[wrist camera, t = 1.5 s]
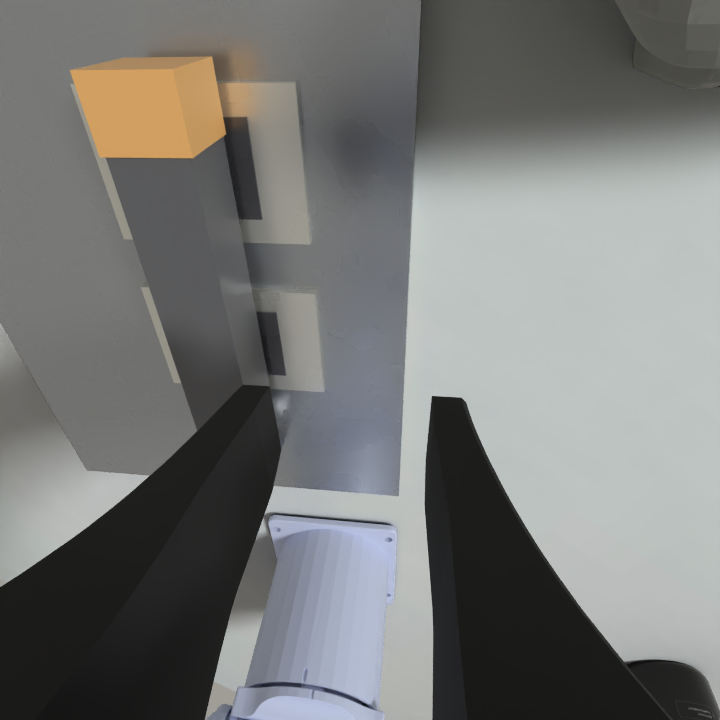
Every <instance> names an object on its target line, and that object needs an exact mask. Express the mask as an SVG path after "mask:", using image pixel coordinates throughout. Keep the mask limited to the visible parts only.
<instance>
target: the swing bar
mask: <svg viewBox="0 0 720 720" xmlns="http://www.w3.org/2000/svg"><path fill="white" fill-rule="evenodd" d="M70 72H71V75H72V78H73V81H74V84H75V87H76V90H77V93H78V96H79V99H80V102H81V104H82V107H83V110H84V113H85V116H86V119H87V122H88V125H89V128H90V131H91V134H92V137H93V140H94V142H95V145H96V148H97V151H98V154H99V157H106V160H107V163H108V166H109V169H110V172H111V175H112V178H113V181H114V184H115V187H116V190H117V193H118V196H119V199H120V202H121V205H122V208H123V211H124V214H125V217H126V220H127V223H128V226H129V229H130V232H131V235H132V238H133V241H134V244H135V247H136V250H137V253H138V256H139V259H140V262H141V265H142V268H143V271H144V274H145V277H146V280H147V283H148V286H149V289H150V292H151V295H152V298H153V301H154V304H155V307H156V310H157V312H158V315H159V318H160V321H161V324H162V327H163V330H164V333H165V336H166V339H167V342H168V345H169V348H170V351H171V354H172V357H173V360H174V363H175V366H176V369H177V372H178V375H179V378H180V381H181V384H182V387H183V390H184V393H185V396H186V399H187V402H188V405H189V408H190V411H191V414H192V417H193V420H194V423H195V426H196V429H197V431H198V430H199V429H200V428H201V427H202V426H203V425H204V424H205V423H206V422H207V421H208V419H209V418H210V417H211V416H212V415H213V414H214V413H215V412H216V411H217V410H218V409H219V408H220V407H221V406H222V405H223V404H224V403H225V402H226V401H227V400H228V399H229V398H230V397H231V396H232V395H233V394H234V393H235V392H236V391H237V390H238V389H239V388H240V387H241V386H242V385H258V386H269V380H268V375H267V370H266V364H265V359H264V353H263V348H262V343H261V337H260V332H259V326H258V321H257V315H256V310H255V305H254V299H253V294H252V288H251V283H250V278H249V272H248V267H247V261H246V256H245V251H244V245H243V240H242V234H241V229H240V224H239V218H238V213H237V207H236V202H235V197H234V191H233V186H232V180H231V175H230V169H229V164H228V159H227V153H226V148H225V142H224V137H223V136H224V135H226V131H225V125H224V120H223V114H222V109H221V103H220V98H219V92H218V87H217V81H216V75H215V70H214V64H213V59H212V56H207V57H132V58H120V59H116V60H112V61H107V62H103V63H99V64H94V65H90V66H86V67H82V68H77V69H73V70H70Z"/></svg>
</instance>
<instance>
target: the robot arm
mask: <svg viewBox="0 0 720 720" xmlns="http://www.w3.org/2000/svg"><path fill="white" fill-rule="evenodd" d="M280 454H281V444H280V439H279V433H278V428H277V422H276V417H275V412H274V406H273V401H272V395H271V390H270V386H258V385H242V386H241V387H240V388H239V389H238V390H237V391H236V392H235V393H234V394H233V395H232V396H231V397H230V398H229V399H228V400H227V401H226V402H225V403H224V404H223V405H222V406H221V407H220V408H219V409H218V410H217V411H216V412H215V413H214V414H213V415H212V416H211V417H210V418H209V419H208V421H207V422H206V423H205V424H204V425H203V426H202V427H201V428H200V429H199V430H198V431H197V432H196V433H195V434H194V435H193V436H192V437H191V438H190V439H188V440H187V441H186V442H185V443H184V444H183V445H182V446H181V447H180V448H179V449H178V450H177V451H176V452H175V453H174V454H173V455H172V456H171V457H170V458H169V459H168V460H167V461H166V462H165V463H163V464H162V465H161V466H160V467H159V468H158V469H157V470H156V471H155V472H153V473H152V474H151V475H150V476H149V477H148V478H147V479H146V480H145V481H143V482H142V483H141V484H140V485H139V486H138V487H137V488H136V489H134V490H133V491H132V492H131V493H130V494H129V495H127V496H126V497H125V498H124V499H123V500H121V501H120V502H119V503H118V504H116V505H115V506H114V507H113V508H112V509H110V510H109V511H108V512H107V513H105V514H104V515H103V516H101V517H100V518H99V519H98V520H96V521H95V522H94V523H92V524H91V525H90V526H89V527H87V528H86V529H85V530H83V531H82V532H81V533H79V534H78V535H76V536H75V537H74V538H72V539H71V540H69V541H68V542H67V543H65V544H64V545H62V546H61V547H59V548H58V549H56V550H55V551H54V552H52V553H51V554H49V555H48V556H46V557H45V558H43V559H42V560H41V561H39V562H38V563H36V564H35V565H33V566H32V567H30V568H29V569H27V570H26V571H25V572H23V573H22V574H20V575H19V576H17V577H15V578H14V579H12V580H11V581H9V582H8V583H6V584H5V585H3V586H2V587H0V720H205V716H206V711H207V706H208V702H209V698H210V694H211V690H212V685H213V681H214V677H215V673H216V669H217V664H218V660H219V656H220V652H221V648H222V644H223V640H224V636H225V633H226V629H227V625H228V621H229V617H230V613H231V609H232V606H233V603H234V599H235V596H236V593H237V590H238V587H239V584H240V581H241V578H242V575H243V573H244V570H245V567H246V564H247V561H248V559H249V556H250V553H251V550H252V547H253V545H254V542H255V539H256V536H257V533H258V531H259V528H260V525H261V522H262V519H263V517H264V514H265V511H266V508H267V505H268V502H269V499H270V496H271V493H272V490H273V486H274V482H275V477H276V473H277V468H278V464H279V459H280ZM425 515H426V528H427V542H428V555H429V568H430V581H431V594H432V607H433V720H673V719H672V718H671V717H670V716H669V715H668V714H667V712H666V711H665V710H664V709H663V708H662V707H661V705H660V704H659V703H658V702H657V701H656V700H655V698H654V697H653V696H652V695H651V694H650V693H649V691H648V690H647V689H646V688H645V687H644V686H643V684H642V683H641V682H640V681H639V680H638V679H637V677H636V676H635V675H634V674H633V673H632V672H631V670H630V669H629V668H628V667H627V665H626V664H625V663H624V662H623V660H622V659H621V658H620V657H619V655H618V654H617V653H616V652H615V650H614V649H613V648H612V646H611V645H610V644H609V643H608V641H607V640H606V639H605V638H604V636H603V635H602V634H601V633H600V631H599V630H598V629H597V628H596V626H595V625H594V624H593V623H592V621H591V620H590V619H589V618H588V616H587V615H586V614H585V613H584V611H583V610H582V609H581V607H580V606H579V605H578V603H577V602H576V600H575V599H574V598H573V596H572V595H571V594H570V592H569V591H568V589H567V588H566V587H565V585H564V584H563V582H562V581H561V580H560V578H559V577H558V575H557V574H556V572H555V571H554V570H553V568H552V567H551V565H550V564H549V562H548V561H547V559H546V558H545V556H544V555H543V553H542V552H541V550H540V549H539V547H538V546H537V544H536V543H535V541H534V539H533V538H532V536H531V535H530V533H529V531H528V530H527V528H526V527H525V525H524V523H523V521H522V520H521V518H520V516H519V515H518V513H517V511H516V510H515V508H514V506H513V504H512V503H511V501H510V499H509V497H508V495H507V494H506V492H505V490H504V488H503V486H502V484H501V482H500V480H499V478H498V477H497V475H496V473H495V471H494V469H493V467H492V465H491V463H490V461H489V459H488V457H487V455H486V452H485V450H484V448H483V446H482V444H481V441H480V439H479V437H478V434H477V432H476V429H475V427H474V424H473V422H472V419H471V416H470V413H469V411H468V407H467V404H466V402H465V401H464V400H463V399H462V398H455V397H438V396H432V402H431V412H430V422H429V433H428V443H427V454H426V473H425ZM268 525H269V529H270V533H271V537H272V542H273V546H274V550H275V554H276V558H277V565H276V569H275V573H274V577H273V581H272V584H271V588H270V592H269V596H268V599H267V603H266V607H265V611H264V615H263V618H262V622H261V626H260V630H259V633H258V637H257V641H256V645H255V649H254V652H253V656H252V660H251V664H250V667H249V671H248V675H247V679H246V683H245V686H244V687H241V686H239V687H238V688H237V692H236V696H235V700H234V703H233V706H231V705H228V704H222V705H220V706H219V707H218V709H217V710H216V711H215V712H214V713H212V714H211V715H210V716H209V717H208V718H207V719H206V720H384V717H385V713H384V712H383V711H379V703H380V689H381V674H382V660H383V646H384V631H385V617H386V605H390V604H392V603H393V602H394V585H395V564H396V542H397V529H396V528H395V527H393V526H391V525H382V524H370V523H359V522H348V521H337V520H326V519H315V518H303V517H292V516H281V515H273V516H271V517H270V518H269V521H268Z"/></svg>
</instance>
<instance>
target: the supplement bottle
mask: <svg viewBox="0 0 720 720" xmlns="http://www.w3.org/2000/svg"><path fill="white" fill-rule="evenodd" d="M627 667H628V668H629V669H630V670H631V672H632V673H633V674H634V675H635V676H636V677H637V679H638V680H639V681H640V682H641V683H642V684H643V686H644V687H645V688H646V689H647V690H648V691H649V693H650V694H651V695H652V696H653V697H654V698H655V700H656V701H657V702H658V703H659V704H660V705H661V707H662V708H663V709H664V710H665V711H666V712H667V714H668V715H669V716H670V717H671V718H672V719H673V720H720V710H719V707H718V705H717V702H716V700H715V697H714V695H713V692H712V690H711V687H710V685H709V683H708V681H707V679H706V678H705V676H704V675H703V674H702V673H701V672H699V671H698V670H696V669H695V668H693V667H691V666H688V665H685V664H681V663H676V662H670V661H644V662H638V663H633V664H629V665H627Z"/></svg>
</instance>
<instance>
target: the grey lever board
mask: <svg viewBox="0 0 720 720" xmlns="http://www.w3.org/2000/svg"><path fill="white" fill-rule="evenodd" d="M421 1H422V0H0V323H1V324H2V326H3V328H4V329H5V331H6V333H7V334H8V336H9V338H10V340H11V341H12V343H13V345H14V346H15V348H16V350H17V352H18V353H19V355H20V357H21V358H22V360H23V362H24V364H25V365H26V367H27V369H28V370H29V372H30V374H31V376H32V377H33V379H34V381H35V382H36V384H37V386H38V388H39V389H40V391H41V393H42V394H43V396H44V398H45V400H46V401H47V403H48V405H49V406H50V408H51V410H52V412H53V413H54V415H55V417H56V418H57V420H58V422H59V423H60V425H61V427H62V429H63V430H64V432H65V434H66V435H67V437H68V439H69V441H70V442H71V444H72V446H73V447H74V449H75V451H76V453H77V454H78V456H79V458H80V459H81V461H82V463H83V465H84V466H85V468H86V470H90V471H102V472H114V473H126V474H138V475H151V474H152V473H153V472H155V471H156V470H157V469H158V468H159V467H160V466H161V465H162V464H163V463H165V462H166V461H167V460H168V459H169V458H170V457H171V456H172V455H173V454H174V453H175V452H176V451H177V450H178V449H179V448H180V447H181V446H182V445H183V444H184V443H185V442H186V441H187V440H188V439H190V438H191V437H192V436H193V435H194V434H195V433H196V432H197V429H196V426H195V423H194V420H193V417H192V414H191V411H190V408H189V405H188V402H187V399H186V396H185V393H184V390H183V387H182V384H181V381H180V378H179V375H178V372H177V369H176V366H175V363H174V360H173V357H172V354H171V351H170V348H169V345H168V342H167V339H166V336H165V333H164V330H163V327H162V324H161V321H160V318H159V315H158V312H157V310H156V307H155V304H154V301H153V298H152V295H151V292H150V289H149V286H148V283H147V280H146V277H145V274H144V271H143V268H142V265H141V262H140V259H139V256H138V253H137V250H136V247H135V244H134V241H133V238H132V235H131V232H130V229H129V226H128V223H127V220H126V217H125V214H124V211H123V208H122V205H121V202H120V199H119V196H118V193H117V190H116V187H115V184H114V181H113V178H112V175H111V172H110V169H109V166H108V163H107V160H106V157H99V154H98V151H97V148H96V145H95V142H94V140H93V137H92V134H91V131H90V128H89V125H88V122H87V119H86V116H85V113H84V110H83V107H82V104H81V102H80V99H79V96H78V93H77V90H76V87H75V84H74V81H73V78H72V75H71V72H70V70H73V69H77V68H82V67H86V66H90V65H94V64H99V63H103V62H107V61H112V60H116V59H120V58H132V57H207V56H212V59H213V64H214V70H215V75H216V81H217V87H218V92H219V98H220V103H221V109H222V114H223V120H224V125H225V131H226V135H224V136H223V137H224V142H225V148H226V153H227V159H228V164H229V169H230V175H231V180H232V186H233V191H234V197H235V202H236V207H237V213H238V218H239V224H240V229H241V234H242V240H243V245H244V251H245V256H246V261H247V267H248V272H249V278H250V283H251V288H252V294H253V299H254V305H255V310H256V315H257V321H258V326H259V332H260V337H261V343H262V348H263V353H264V359H265V364H266V370H267V375H268V380H269V386H270V390H271V395H272V401H273V406H274V412H275V417H276V422H277V428H278V433H279V439H280V444H281V454H280V459H279V464H278V468H277V473H276V477H275V482H274V486H283V487H295V488H307V489H319V490H331V491H343V492H355V493H367V494H379V495H391V496H398V495H399V478H400V456H401V435H402V413H403V391H404V370H405V348H406V326H407V304H408V283H409V261H410V239H411V218H412V196H413V174H414V153H415V131H416V109H417V88H418V66H419V44H420V23H421Z"/></svg>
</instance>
